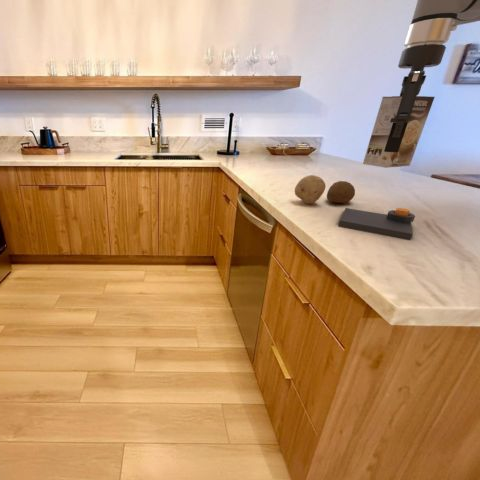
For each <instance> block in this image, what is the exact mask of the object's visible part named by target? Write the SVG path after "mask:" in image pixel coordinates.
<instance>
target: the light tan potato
mask: <svg viewBox="0 0 480 480" xmlns="http://www.w3.org/2000/svg"><path fill="white" fill-rule="evenodd" d="M325 191H326V182H325V180H324V179H322V177H320V176H318V175H313V174H310V175H307V176H304V177H302V178H301V179H300V180H299V181H298V182H297V184H296V185H295V187H294V195H295V196H296V197H297V198H298V199H300V200H301V201H302V202H303V203H304V204H306V205H313V204H315V203H316V202H317V201H319V200H320V198H321V197H322V195H323V194H324V193H325Z"/></svg>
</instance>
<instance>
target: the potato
mask: <svg viewBox="0 0 480 480" xmlns="http://www.w3.org/2000/svg"><path fill="white" fill-rule="evenodd" d="M355 195H356V189H355V187H354V185H353V184H352V183H351V182H348V181H345V180H344V181H343V180H338V181H336V182H333V184H332V185H331V186H329V187H328V190H327V193H326V199H327V201H329V202H331V203H337V204H347V203H349V202H350V201H352V200H353V199H354V197H355Z"/></svg>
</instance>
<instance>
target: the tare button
mask: <svg viewBox="0 0 480 480" xmlns="http://www.w3.org/2000/svg"><path fill="white" fill-rule="evenodd" d="M395 210H396V211H395V214H398V215H403V216H408V214H409V213H411V210H410V209H407V208H403V207H397V208H396V209H395Z"/></svg>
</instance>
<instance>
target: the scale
mask: <svg viewBox="0 0 480 480" xmlns="http://www.w3.org/2000/svg"><path fill="white" fill-rule="evenodd" d="M395 211H396V209H395V210H394V209H392V210H388V211H387V214H385V213H380V212H374V211H367V210H362V209H355V208H348V207H345V209H344V210H343V212H342V215H341V217H340V219H339V222H338V225H337V227H339V228H343V229H349V230H355V231H358V232H359V231H360V232H365V233H371V234H373V235H374V234H375V235H380V236H385V237H390V238H396V239H400V240H406V241H411V239H412V238H413V234H414V233H413V226H412V223H413V222H414V220H415V219H416V215H415V214H413V213H411V212H409V214H408V216H403V215H398V214H395Z"/></svg>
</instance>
